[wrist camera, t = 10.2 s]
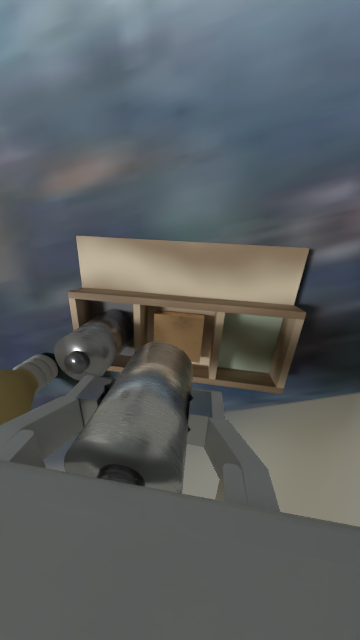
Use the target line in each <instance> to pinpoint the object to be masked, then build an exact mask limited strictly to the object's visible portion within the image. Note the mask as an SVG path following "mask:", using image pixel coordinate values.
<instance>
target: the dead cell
mask: <svg viewBox="0 0 360 640" xmlns="http://www.w3.org/2000/svg"><path fill="white" fill-rule="evenodd" d="M133 337H134V323H133V321H132V320H131V318H130V317H129V316H128V315H127V314H126V313H124V312H122V311H120V310H115V309H111V310H107V311H105V312H103V313H102V314H100V315H99V316H97V317H95V318H94V319H92V320H90V321H89V322H87V323H86V324H84V325H82V326H81V327H79V328H78V329H76V330H74V331H73V332H71V333H70V334H68V335H66V336H65V337H63V338H62V339H60V340H59V341H58V342H57V344H56V346H55V351H54V353H55V359H56V361H57V363H58V365H59V367H60V368H61V369H62V370H63V371H64V372H65V373H66V374H67V375H68V376H70V377H72V378H74V379H76V380H78V381H80V380H81V379H82V378H83V377H84V376H86V375H93V376H101V377H102V375H103V374H104V373H105V372H106V371H107V369H108V368H109V367H110V366H111V364H112V363H113V362H114V361H115V359H116V358H117V357H118V356H119V355H120V353H121V352H122V351H123V350H124V348H125V347H126V346H127V345H128V344H129V342H130V341H131V340H132V339H133Z"/></svg>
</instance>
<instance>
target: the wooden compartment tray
mask: <svg viewBox="0 0 360 640" xmlns="http://www.w3.org/2000/svg"><path fill="white" fill-rule="evenodd" d="M76 239H77V248H78V256H79V264H80V272H81V280H82V288H79V289H75V290H72V291H68V296H69V303H70V310H71V316H72V323H73V330H76V329H78V328H79V327H81V326H82V325H84V324H86V323H87V322H89V321H90V320H92V319H94V318H95V317H97V316H99V315H100V314H102V313H103V312H105V311H107V310H111V309H115V310H120V311H122V312H124V313H126V314H127V315H128V316H129V317H130V318H131V320H132V321H133V323H134V337H133V339H132V340H131V341H130V342H129V344H128V345H127V346H126V347H125V348H124V350H123V351H122V352H121V353H120V355H119V356H118V357H117V358H116V359H115V361H114V362H113V363H112V364H111V366H110V367H109V368H108V369H107V371H114V372H122V371H123V369H124V368H125V366H126V365H127V363H128V362H129V360H130V359H131V357H132V356H133V355H134V353H135V352H136V351H137V349H139V348H140V347H141V346H143V345H145V344H147V343H150V342H154V313H155V312H156V311H166V312H177V313H187V314H198V315H204V327H203V336H202V345H201V354H200V363H196V362H191V363H192V366H193V381H192V382H197V383H204V384H212V385H219V386H227V387H234V388H242V389H249V390H257V391H264V392H272V393H279V394H282V392H283V389H284V385H285V382H286V379H287V375H288V372H289V369H290V366H291V362H292V359H293V356H294V352H295V349H296V346H297V343H298V339H299V336H300V333H301V329H302V326H303V323H304V319H305V316H306V313H307V312H305V311H303V310H301V309H300V308H298V307H296V306H294V303H295V299H296V295H297V292H298V288H299V285H300V281H301V277H302V274H303V270H304V266H305V263H306V259H307V255H308V252H309V248H295V247H277V246H258V245H239V244H220V243H201V242H182V241H164V240H145V239H126V238H107V237H88V236H76Z"/></svg>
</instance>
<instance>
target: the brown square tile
mask: <svg viewBox="0 0 360 640" xmlns="http://www.w3.org/2000/svg"><path fill="white" fill-rule="evenodd" d="M203 327H204V315H198V314H187V313H177V312H166V311H156V312H155V313H154V342H167V343H170V344H173V345H175V346H177V347H179V348H180V349H181V350H183V351H184V352H185V353H186V354H187V356H188V357H189V359H190V360H191V362H196V363H200V354H201V345H202V336H203Z"/></svg>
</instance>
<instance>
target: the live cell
mask: <svg viewBox="0 0 360 640" xmlns="http://www.w3.org/2000/svg"><path fill="white" fill-rule="evenodd" d="M192 381H193V366H192V363H191V360H190V359H189V357H188V356H187V354H186V353H185V352H184V351H183V350H181V349H180V348H179V347H177V346H175V345H173V344H170V343H167V342H150V343H147V344H145V345H143V346H141V347H140V348H139V349H137V351H136V352H135V353H134V355H133V356H132V357H131V359H130V360H129V362H128V363H127V365H126V366H125V368H124V369H123V371H122V372H121V374H120V375H119V376H118V378H117V379H116V381H115V382H114V384H113V385H112V387H111V388H110V390H109V391H108V393H107V394H106V395H105V397H104V398H103V400H102V401H101V403H100V404H99V406H98V407H97V409H96V410H95V412H94V413H93V414H92V416H91V417H90V419H89V420H88V422H87V423H86V425H85V426H84V428H83V429H82V431H81V432H80V433H79V435H78V436H77V438H76V439H75V441H74V442H73V444H72V445H71V447H70V448H69V450H68V451H67V453H66V455H65V459H64V466H65V471H66V472H68V473H74V474H79V475H84V476H90V477H95V478H100V479H106V480H111V481H117V482H122V483H127V484H133V485H138V486H143V487H149V488H154V489H160V490H165V491H170V492H176V493H181V494H182V488H183V478H184V466H185V456H186V445H187V435H188V416H189V406H190V396H191V389H192Z"/></svg>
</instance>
